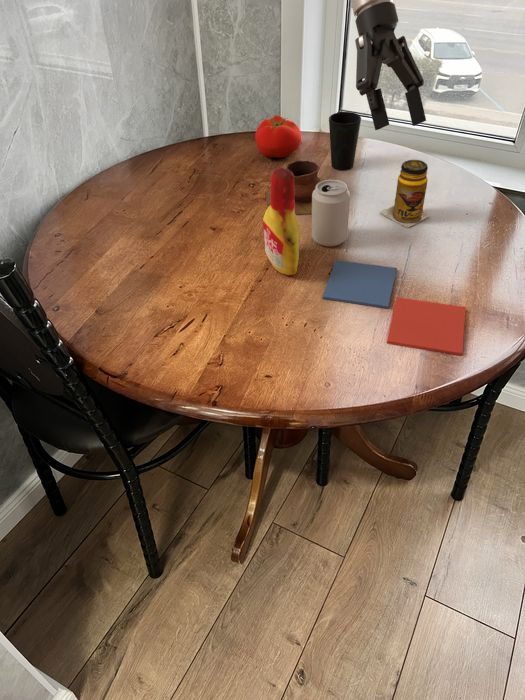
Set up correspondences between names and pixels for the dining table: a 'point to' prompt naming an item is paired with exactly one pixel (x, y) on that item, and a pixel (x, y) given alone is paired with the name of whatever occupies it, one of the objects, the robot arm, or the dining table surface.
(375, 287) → the mat blue
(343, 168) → the cup
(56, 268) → the dining table surface
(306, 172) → the ceramic pot
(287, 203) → the bottle
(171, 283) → the dining table surface
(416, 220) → the condiment
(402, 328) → the mat red
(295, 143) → the tomato
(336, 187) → the can
